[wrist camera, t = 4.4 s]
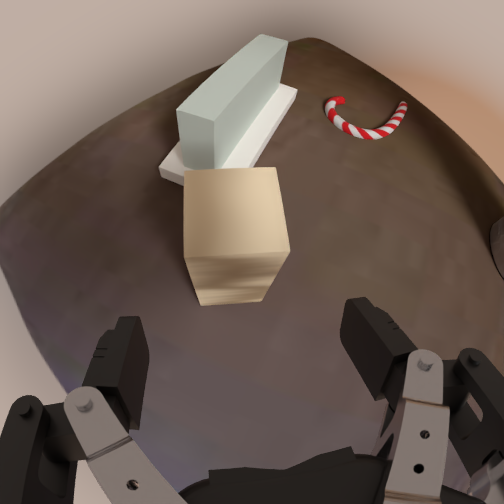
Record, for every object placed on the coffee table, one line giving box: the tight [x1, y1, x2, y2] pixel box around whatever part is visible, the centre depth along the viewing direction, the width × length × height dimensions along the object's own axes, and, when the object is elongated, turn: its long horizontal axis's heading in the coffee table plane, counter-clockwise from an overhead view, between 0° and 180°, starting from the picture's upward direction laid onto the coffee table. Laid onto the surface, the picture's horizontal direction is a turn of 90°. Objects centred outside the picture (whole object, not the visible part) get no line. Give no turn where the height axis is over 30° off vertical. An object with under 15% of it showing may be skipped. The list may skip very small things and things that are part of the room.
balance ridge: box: [159, 34, 297, 186], centre depth 24 cm, size 7×17×8 cm, turn 156°
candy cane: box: [325, 96, 407, 139], centre depth 32 cm, size 8×1×15 cm
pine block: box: [184, 167, 290, 306], centre depth 18 cm, size 4×4×10 cm
